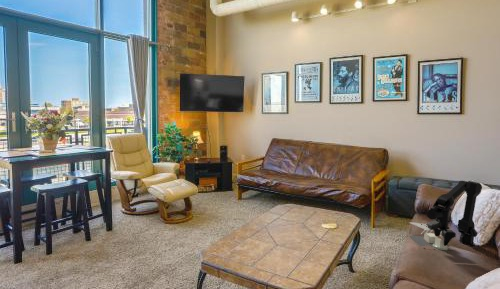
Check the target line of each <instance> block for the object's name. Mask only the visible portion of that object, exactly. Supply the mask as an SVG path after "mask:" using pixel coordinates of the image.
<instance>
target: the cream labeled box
mask: <svg viewBox="0 0 500 289" xmlns="http://www.w3.org/2000/svg"><path fill="white" fill-rule="evenodd" d="M423 236H424V239H425V240H426V241H427V242H428V243H435V234H434V232H433V233H432V232H431V233H430V232H427V233H426V232H423ZM440 236H442V234H440ZM442 237H443V236H442Z"/></svg>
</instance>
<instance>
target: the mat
mask: <svg viewBox="0 0 500 289" xmlns="http://www.w3.org/2000/svg"><path fill="white" fill-rule="evenodd" d="M408 237H409V238H410V240H412V241H413V242H414V243H416V244H417V245H418V246H419V247H422V246H425V245H426V246H427V245H429V246H431V247H433V246H432V245H433V243H428V242H427V241H426V240H425V239H424V235H408ZM437 251H440V250H439V249H438V250H437ZM447 251H452V252H453V249H452V248H450V247H449V249H448V250H447Z"/></svg>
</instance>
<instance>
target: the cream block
mask: <svg viewBox="0 0 500 289" xmlns="http://www.w3.org/2000/svg"><path fill="white" fill-rule="evenodd" d="M434 244H435V245H437V246H438V247H439V248H447V246H448V244H447V245H446V246H444V237H442V235H441V236H435V243H434Z"/></svg>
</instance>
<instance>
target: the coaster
mask: <svg viewBox="0 0 500 289" xmlns="http://www.w3.org/2000/svg"><path fill="white" fill-rule="evenodd" d="M432 246H433V247H434V248H436V249H439V250H438V251H449V250H448V249H449V248H450V247H449V246H448V245H447V248H439V247H438V246H437V245H435V244H434V243H433V245H432Z"/></svg>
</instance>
